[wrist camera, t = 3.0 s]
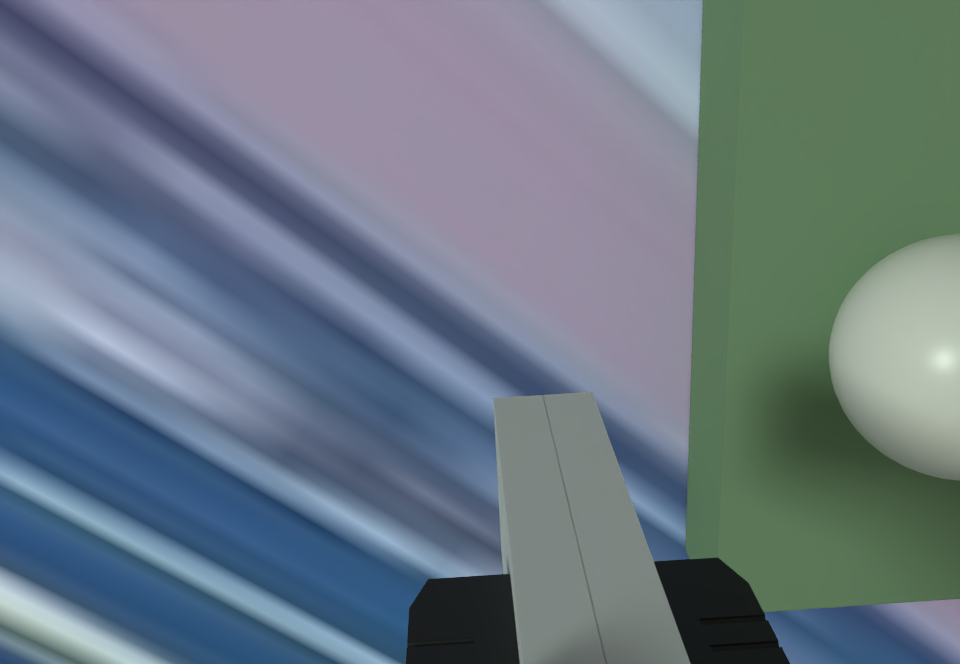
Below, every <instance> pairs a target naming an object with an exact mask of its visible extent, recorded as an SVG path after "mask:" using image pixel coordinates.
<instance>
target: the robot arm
mask: <svg viewBox="0 0 960 664" xmlns="http://www.w3.org/2000/svg"><path fill="white" fill-rule="evenodd" d="M493 399H494V418H495V437H496V456H497V475H498V494H499V513H500V532H501V551H502V561H503V571H504V574H501V575H486V576H470V577H455V578H440V579H428V581H427V582H426V584H425V585H424V587H423V588H422V590H421V591H420V593H419V594H418V596H417V597H416V599H415V601H414V602H413V604H412V605H411V607H410V608H409V624H408V640H407V642H408V648H407V656H406V664H790V663H789V661H788V659H787V657H786V655H785V653H784V651H783V649H782V647H779V645H778V639H777V637H776V635H775V633H774V631H773V630H772V628H771V626H770V624H769V622H768V621H766V620H765V614H764V612H763V610H762V608H761V606H760V604H759V602H758V600H757V598H756V596H755V594H754V592H753V590H752V588H751V586H750V584H749V583H748V582H747V581H746V580H745V579H743V578H742V577H741V576H740V575H739V574H737V573H736V572H735V571H734V570H733V569H731V568H730V567H729V566H728V565H727V564H725V563H724V562H723V561H722V560H721V559H719V558H718V557H717V558H702V559H686V560H671V561H656V562H654V561H653V559H652V556H651V553H650V550H649V548H648V545H647V542H646V539H645V537H644V534H643V531H642V528H641V526H640V523H639V520H638V517H637V515H636V512H635V509H634V506H633V503H632V501H631V498H630V495H629V492H628V490H627V487H626V484H625V481H624V479H623V476H622V473H621V470H620V468H619V465H618V462H617V459H616V457H615V454H614V451H613V448H612V446H611V443H610V440H609V437H608V435H607V432H606V429H605V426H604V423H603V421H602V418H601V415H600V412H599V410H598V407H597V404H596V401H595V399H594V396H593V393H592V392H585V393H569V394H553V395H537V396H521V397H506V398H493Z"/></svg>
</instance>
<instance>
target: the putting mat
mask: <svg viewBox="0 0 960 664" xmlns="http://www.w3.org/2000/svg"><path fill="white" fill-rule="evenodd" d="M959 233H960V0H703V18H702V49H701V81H700V112H699V143H698V175H697V206H696V237H695V269H694V300H693V332H692V363H691V394H690V426H689V457H688V488H687V520H686V551H687V554H688V556H689V558H690V559H702V558H717V557H718V558H719V559H721V560H722V561H723V562H724V563H725V564H727V565H728V566H729V567H730V568H731V569H733V570H734V571H735V572H736V573H737V574H739V575H740V576H741V577H742V578H743V579H745V580H746V581H747V582H748V583H749V584H750V586H751V588H752V590H753V592H754V594H755V596H756V598H757V600H758V602H759V604H760V606H761V608H762V610H763V612H771V611H786V610H801V609H815V608H830V607H844V606H859V605H874V604H888V603H903V602H918V601H932V600H947V599H960V481H959V480H950V479H942V478H938V477H933V476H929V475H926V474H923V473H920V472H917V471H914V470H912V469H909V468H907V467H905V466H903V465H901V464H899V463H897V462H896V461H894V460H892V459H890V458H889V457H887V456H885V455H884V454H882V453H881V452H880V451H879V450H877V449H876V448H875V447H874V446H872V445H871V444H870V443H869V442H868V441H866V440H865V438H864V437H863V436H862V435H861V434H860V433H859V432H858V431H857V430H856V428H855V427H854V426H853V425H852V423H851V422H850V420H849V419H848V417H847V416H846V414H845V413H844V411H843V409H842V407H841V405H840V402H839V400H838V398H837V396H836V394H835V391H834V387H833V384H832V380H831V374H830V367H829V343H830V337H831V332H832V328H833V324H834V321H835V318H836V315H837V313H838V311H839V308H840V306H841V304H842V302H843V301H844V299H845V297H846V296H847V294H848V292H849V291H850V290H851V288H852V287H853V286H854V285H855V283H856V282H857V281H858V280H859V279H860V278H861V277H862V276H863V275H864V274H865V273H866V272H867V271H868V270H869V269H870V268H871V267H873V266H874V265H875V264H876V263H877V262H879V261H880V260H882V259H883V258H885V257H886V256H888V255H890V254H892V253H893V252H895V251H897V250H899V249H901V248H903V247H905V246H907V245H910V244H913V243H915V242H918V241H921V240H924V239H928V238H932V237H937V236H943V235H951V234H959Z"/></svg>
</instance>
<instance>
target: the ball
mask: <svg viewBox="0 0 960 664" xmlns="http://www.w3.org/2000/svg"><path fill="white" fill-rule="evenodd" d="M829 367H830V374H831V380H832V384H833V387H834V391H835V394H836V396H837V398H838V400H839V402H840V405H841V407H842V409H843V411H844V413H845V414H846V416H847V417H848V419H849V420H850V422H851V423H852V425H853V426H854V427H855V428H856V430H857V431H858V432H859V433H860V434H861V435H862V436H863V437H864V438H865V440H866V441H868V442H869V443H870V444H871V445H872V446H874V447H875V448H876V449H877V450H879V451H880V452H881V453H882V454H884V455H885V456H887V457H889V458H890V459H892V460H894V461H896V462H897V463H899V464H901V465H903V466H905V467H907V468H909V469H912V470H914V471H917V472H920V473H923V474H926V475H929V476H933V477H938V478H942V479H950V480H959V481H960V233H959V234H951V235H943V236H937V237H932V238H928V239H924V240H921V241H918V242H915V243H913V244H910V245H907V246H905V247H903V248H901V249H899V250H897V251H895V252H893V253H892V254H890V255H888V256H886V257H885V258H883V259H882V260H880V261H879V262H877V263H876V264H875V265H874V266H873V267H871V268H870V269H869V270H868V271H867V272H866V273H865V274H864V275H863V276H862V277H861V278H860V279H859V280H858V281H857V282H856V283H855V285H854V286H853V287H852V288H851V290H850V291H849V292H848V294H847V296H846V297H845V299H844V301H843V302H842V304H841V306H840V308H839V311H838V313H837V315H836V318H835V321H834V324H833V328H832V332H831V337H830V343H829Z"/></svg>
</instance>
